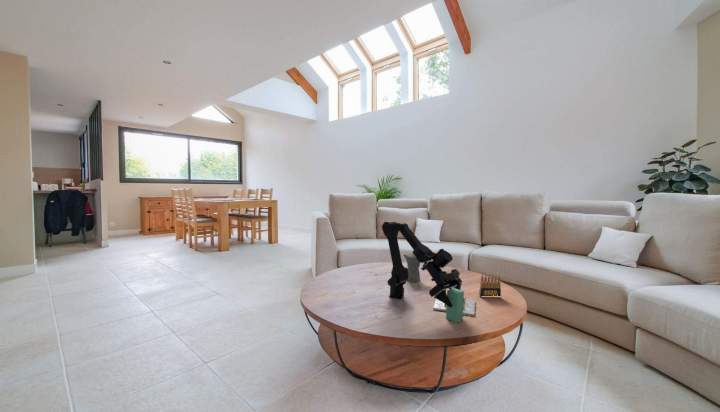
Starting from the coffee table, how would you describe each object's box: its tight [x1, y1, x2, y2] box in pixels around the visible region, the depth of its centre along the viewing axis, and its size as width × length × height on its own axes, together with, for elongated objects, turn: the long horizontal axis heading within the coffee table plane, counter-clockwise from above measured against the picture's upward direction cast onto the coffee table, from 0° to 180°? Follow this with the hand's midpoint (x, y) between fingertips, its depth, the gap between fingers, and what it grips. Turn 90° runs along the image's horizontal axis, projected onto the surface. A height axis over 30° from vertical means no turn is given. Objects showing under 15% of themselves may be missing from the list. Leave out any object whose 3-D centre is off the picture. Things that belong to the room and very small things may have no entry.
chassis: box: [432, 293, 476, 317], centre depth 145 cm, size 18×18×4 cm
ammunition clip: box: [478, 274, 502, 297], centre depth 157 cm, size 11×2×12 cm, turn 90°
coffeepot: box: [402, 250, 429, 283], centre depth 183 cm, size 15×9×18 cm, turn 62°
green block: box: [445, 288, 465, 323], centre depth 130 cm, size 5×5×12 cm
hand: (457, 304), depth 129 cm, fingers open, 9 cm apart
